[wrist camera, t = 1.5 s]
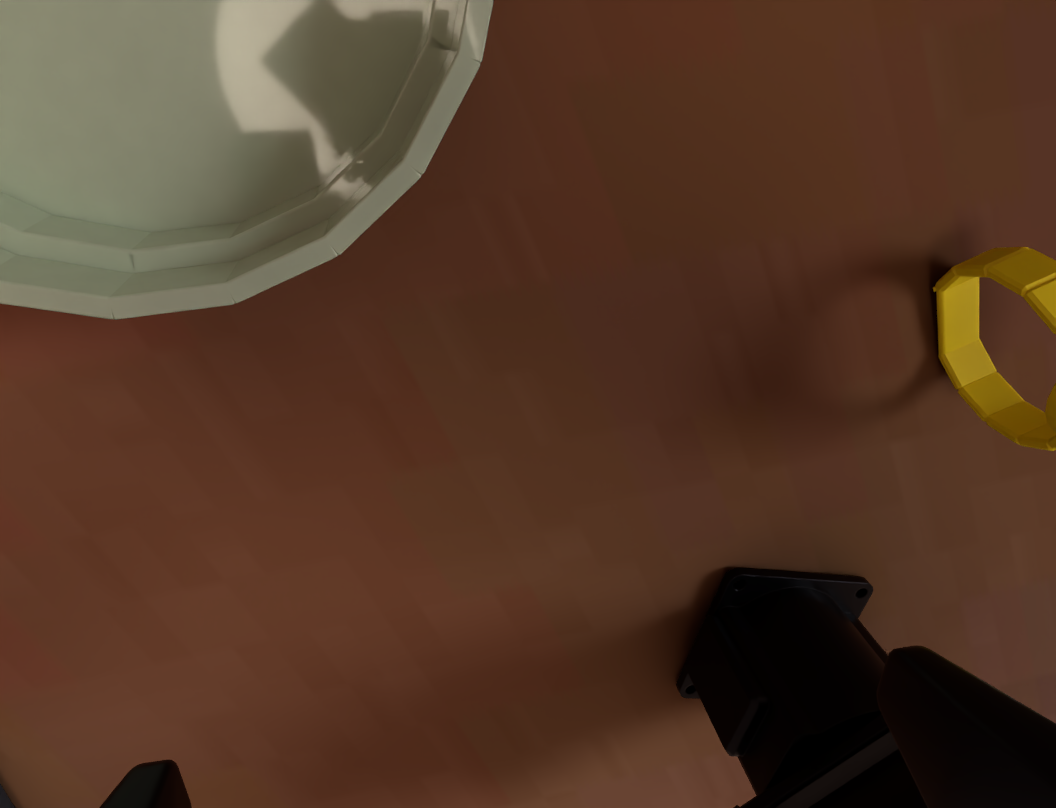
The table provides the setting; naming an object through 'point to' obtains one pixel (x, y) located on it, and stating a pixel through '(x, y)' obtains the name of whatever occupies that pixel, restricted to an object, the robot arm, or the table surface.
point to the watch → (963, 355)
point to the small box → (5, 799)
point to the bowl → (211, 140)
